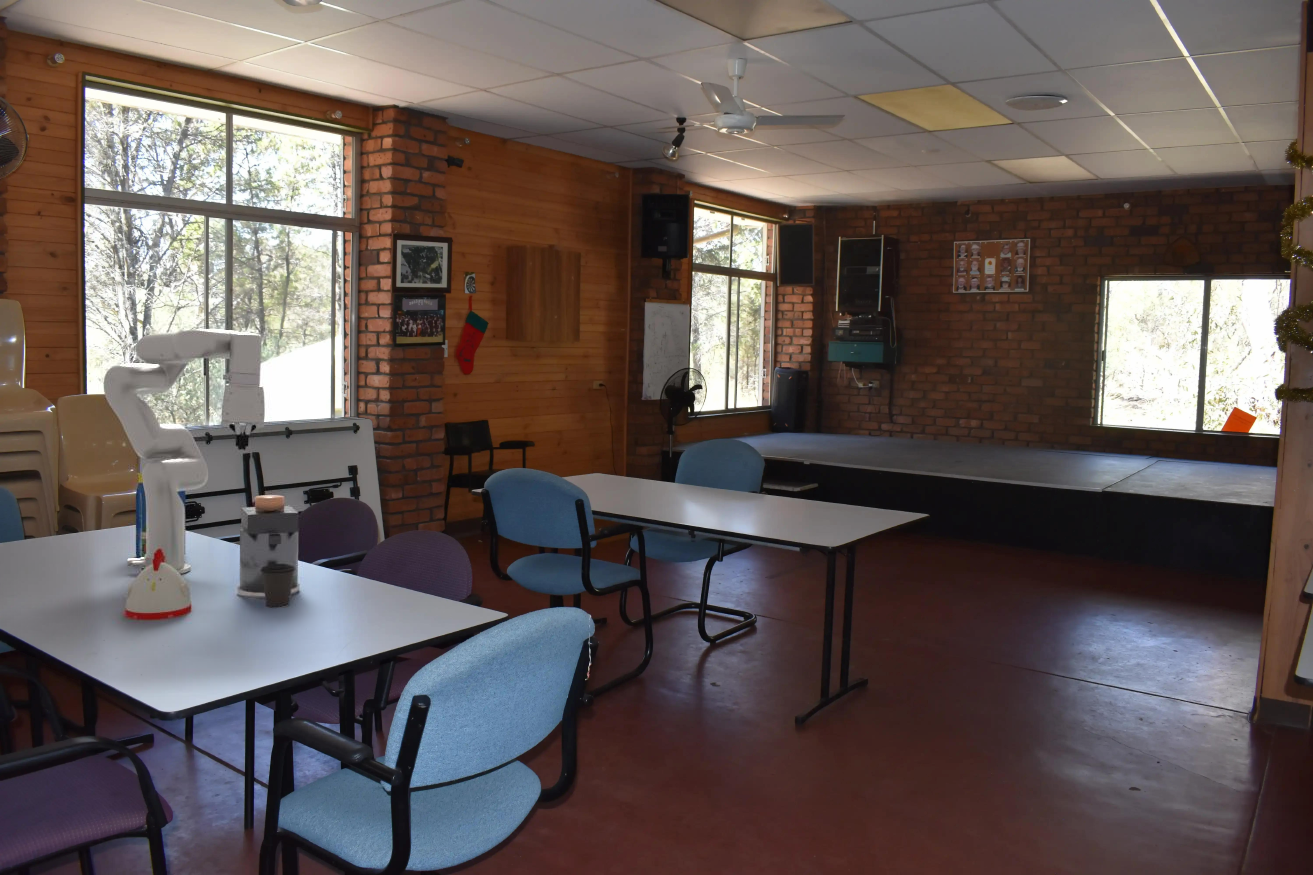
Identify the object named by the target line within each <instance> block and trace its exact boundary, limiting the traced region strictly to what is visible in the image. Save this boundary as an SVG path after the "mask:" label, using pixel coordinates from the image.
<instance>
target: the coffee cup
mask: <svg viewBox="0 0 1313 875" xmlns="http://www.w3.org/2000/svg"><path fill="white" fill-rule="evenodd" d="M294 570H295V568H294V566H291V565H287V564H271V565H268V566H265V567H262V569H261V570H260V571H261V572H262V573H263V582H264V591H265V599H264V600H265V606H266V607H268V608H272V609H273V608H285V607H287V606H290V603H291V602H290V600H291V596H290V595H291V587H292V580H293V572H294Z"/></svg>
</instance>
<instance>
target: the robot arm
mask: <svg viewBox="0 0 1313 875" xmlns="http://www.w3.org/2000/svg"><path fill="white" fill-rule="evenodd" d="M135 353H136V355H137V357H138V358H139V359H140V360H141V361H142V362H144V363H133V362H131V363H119V364H116V365H114V366H112V367H110V368H109V369H108V370H107V371H106V372H105V375H104V377H103V392H104V396H105V398H106V401H107V402H108V404H109V406H110V408H111V409H112V410H113V412H114V413H115V415H116V416H117V418H118V419H119V422H120V423H121V425H122V427H123V430H124V431H125V433H126V434H125V435H126V436H127V438H128V440H129V442H130V445H132V448H133V450H134V452H135V453H136V454H137V456H138V457H140V458H142V459H145V460H146V459H147V460H148V459H149V460H152V461H150V462H148V463H147V464H146V465H145V466H144V467H143V469H142V473H141V474H142V481H143V486H144V490H145V497H146V554H145V557H141V558H128V559H127V567H134V568H135V567H140V568H139V574H140V573H141V572H142V571H143V570H144V569H145V568H146V567H148V566H149V565H151V564H153V560H152V559H154V553H156V550H157V549H162V552H163V556H165V560H164V563H166V564H168V565H170V566H172V567H173V568H174V569H176V570H177V571H178V572H179V573H180V575H182V574H185V573H188V572H190V571H191V570H192V569H191V568H192V567H191V564H189V563H186V562H185V560H186V559H185V557H186V508H185V509H184V504H183V502H182V500H181V498H180V497H179V495H178V492H179V491H185V492H186V491H192V490H197V489H200V488H202V487H203V486H205V485H206V483H207V481H208V479H209V470H208V466H207V463H206V461H205V459H204V457H203V455H202V452H201V451H200V448H199V446H198V445H197V443H196V441H195V439H194V436H193V435H192V433H191V431H190V430H188V429H187V428H186V427H184V426H183V425H181V424H179V423H178V424H175V423H167V424H165V423H164V424H163V423H161V422H159V420H158V419H157V417H156V414H155V413H154V410H153V409H152V408H151V406H150V405H149V404H148V403H147V402H145V400H143V399H141V398H140V396H139V394H140V395H141V394H142V395H143V394H145V395H147V394H149V395H150V394H151V395H152V394H163V393H166V392H168V391H169V390H170V389H171V388H172V387H173V386H174V385H175V383H176V382H177V381H178V379H179V377H180V376H181V375H182V374H183V372H184V370H185V369H186V368H187V366H188V364H189V363H191V362H192V361H194V360H195V359H221V360H222V359H225V360H226V359H227V360H229V364H228V365H229V367H228V369H229V370H228V371H229V372H228V373H226V374H223V375H222V380H225V381H227V382H228V383H226V384H225V387H224V392H223V397H222V406H221V419H220V420H221V421H220V426H221V427H224V428H228V429H230V430H232V431H233V432H234V434H235V444H234V446H235V447H237V450H239V451H241V450H243V451H245V450H247V448H246V447H249V436H250V435H251V433H252V432H254V431H255V430H257V429H261V428H265V426H266V425H265V414H266V413H265V412H266V411H265V410H266V409H265V407H266V406H265V391H264V386H263V385H261V362H262V360H261V359H262V337H261V336H260V335H259V334H257V333H251V332H240V331H237V330H236V331H235V330H226V329H225V330H224V329H213V328H212V329H209V328H207V329H206V328H204V329H202V328H199V329H198V328H197V329H188V330H186V329H185V330H180V331H173V332H160V333H150V334H147V335H144V336H142V337H141V338H140V339H138V341H137V342H136V345H135ZM240 424H245V425H244V431H243V432H242V431H241V425H240Z"/></svg>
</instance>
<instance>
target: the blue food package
mask: <svg viewBox="0 0 1313 875" xmlns="http://www.w3.org/2000/svg"><path fill="white" fill-rule="evenodd" d="M178 495H179V497H180V498H181V500H182V502H183V504H184V509H185V510H186V490H185V491H179V492H178ZM145 554H146V497H145V490H144V486H143V481H142V473H138V484H137V488H136V492H135V556H136V557H137V558H138V559H141V557H145Z"/></svg>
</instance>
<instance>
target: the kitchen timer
mask: <svg viewBox="0 0 1313 875" xmlns="http://www.w3.org/2000/svg"><path fill="white" fill-rule="evenodd" d="M152 560H153V564H151V565H149V566H148V567H146V568H145V569H144V570H143V571H142V572H141V573H140V572H139V574H138V575H137V576H136V578H135V579H134V581H133V582H132V584H129V585H128V587H127V590H126V592H127V593H126V597H125V599H126V601H125V605H124V616H125V617H127V618H128V619H133V620H141V621H154V620H155V621H156V620H165V619H166V620H167V619H172V618H173V619H174V618H177V617H181V616H184V615H188V614H189V613H191V612H192V598H191V590H190V589H191V588H190V584H189V581H188V580H185V579H184V578H183V576H182V574H180V573H179V572H178V571H177V570H176V569H174V568H173V567H172V566H170V565H168V564H166V563H164V560H165V556H163V552H162V549H157V550H156V553H154V559H152Z"/></svg>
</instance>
